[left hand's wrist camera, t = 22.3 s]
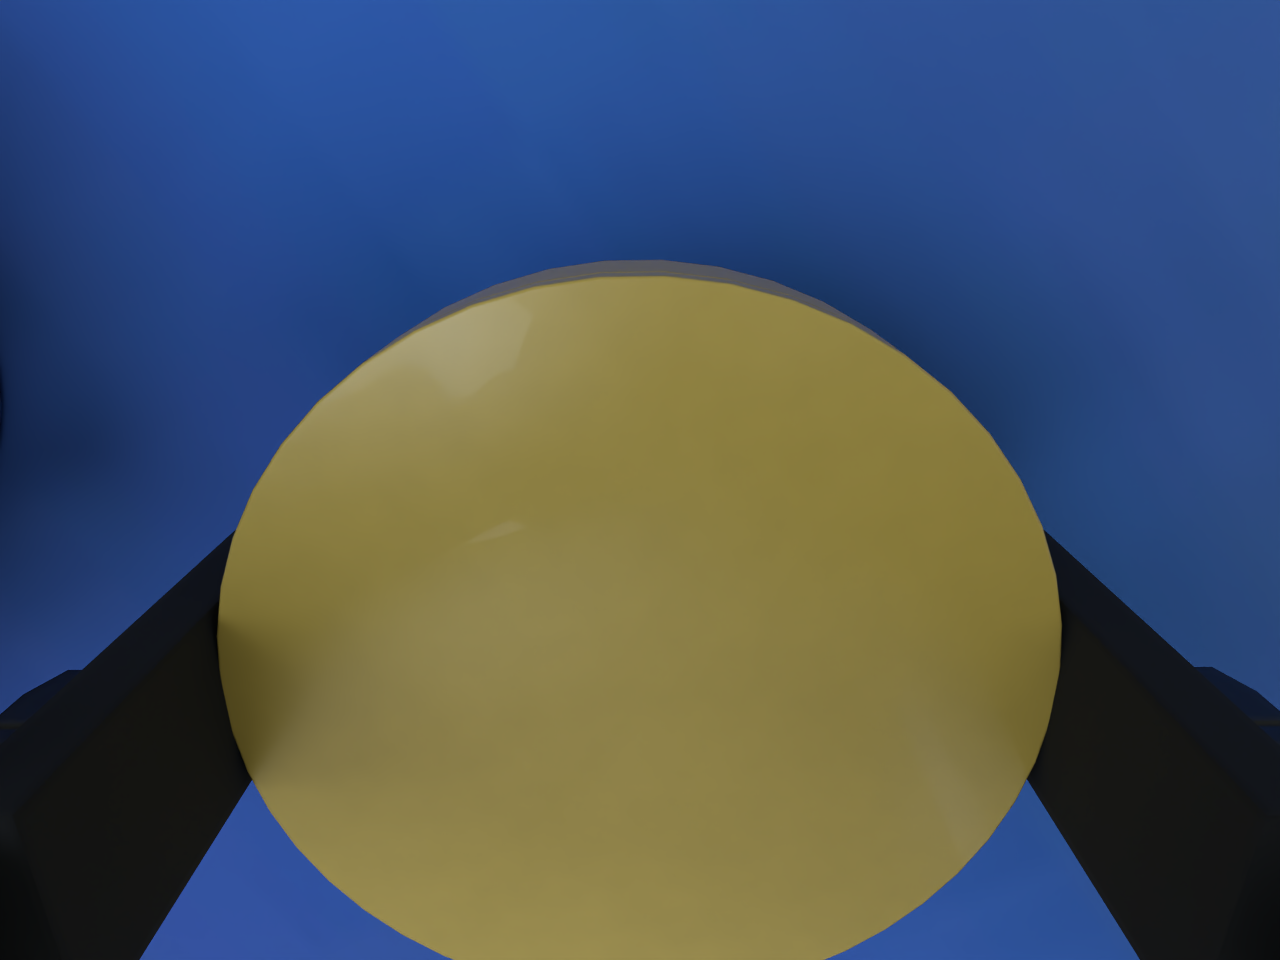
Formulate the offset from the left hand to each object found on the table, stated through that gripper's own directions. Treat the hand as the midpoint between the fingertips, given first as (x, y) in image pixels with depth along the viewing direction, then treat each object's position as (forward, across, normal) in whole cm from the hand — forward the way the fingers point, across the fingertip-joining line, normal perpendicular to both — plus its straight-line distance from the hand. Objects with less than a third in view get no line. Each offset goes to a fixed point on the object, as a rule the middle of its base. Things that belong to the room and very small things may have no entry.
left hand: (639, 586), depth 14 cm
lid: (-3, 0, 0) cm, 3 cm away
